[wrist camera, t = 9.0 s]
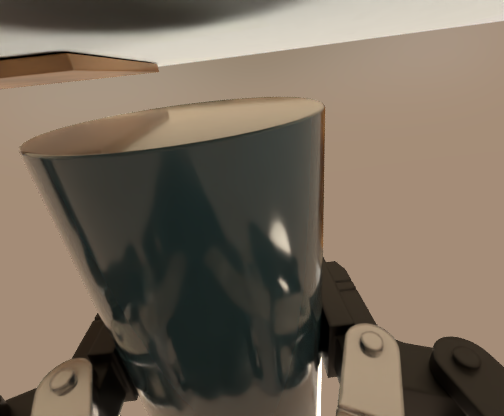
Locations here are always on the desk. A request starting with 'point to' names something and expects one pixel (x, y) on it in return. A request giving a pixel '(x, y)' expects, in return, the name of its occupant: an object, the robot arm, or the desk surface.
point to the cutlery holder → (199, 247)
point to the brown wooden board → (66, 69)
